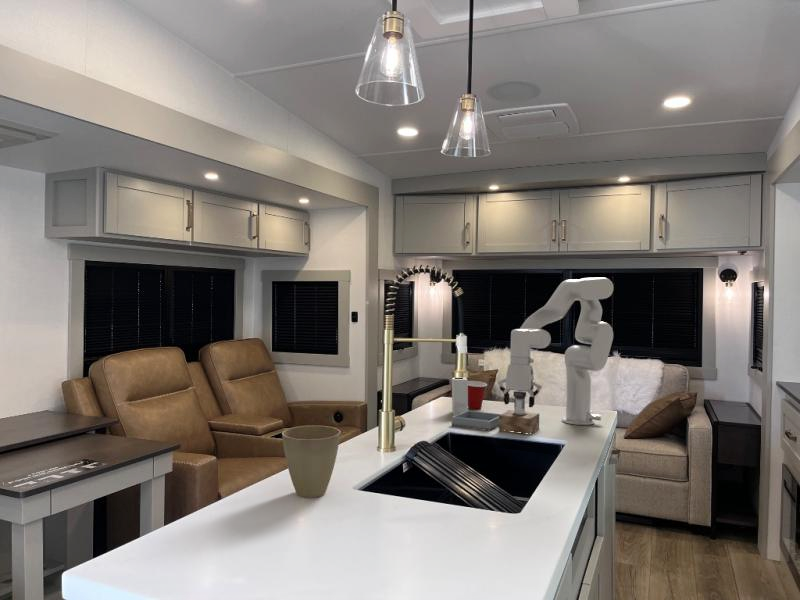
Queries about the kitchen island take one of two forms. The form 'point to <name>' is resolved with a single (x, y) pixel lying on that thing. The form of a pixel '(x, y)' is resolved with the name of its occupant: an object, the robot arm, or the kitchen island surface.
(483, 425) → the tray
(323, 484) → the plant pot
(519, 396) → the pin
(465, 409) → the skincare box
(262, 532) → the kitchen island surface
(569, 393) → the robot arm
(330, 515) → the kitchen island surface
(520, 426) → the pin block
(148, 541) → the kitchen island surface
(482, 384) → the plastic cup
